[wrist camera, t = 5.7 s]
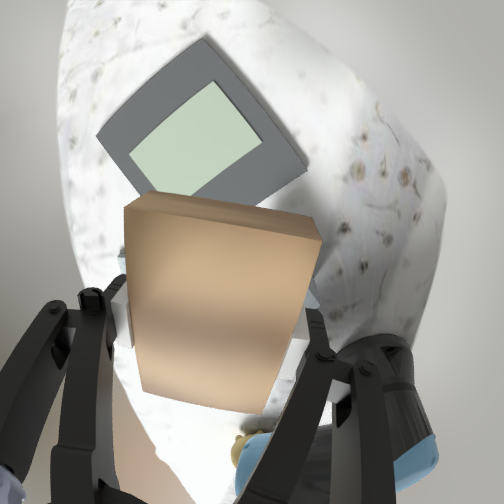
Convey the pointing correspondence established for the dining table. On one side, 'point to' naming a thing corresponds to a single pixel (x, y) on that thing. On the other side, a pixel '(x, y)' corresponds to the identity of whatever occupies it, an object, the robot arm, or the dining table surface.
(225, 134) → the mat
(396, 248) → the dining table surface
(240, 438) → the toy pig
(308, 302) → the stand
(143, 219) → the card box
